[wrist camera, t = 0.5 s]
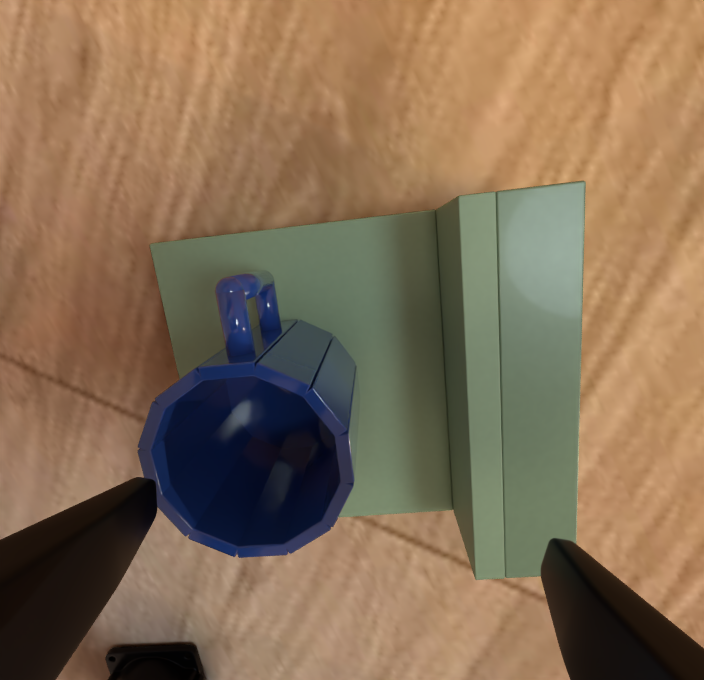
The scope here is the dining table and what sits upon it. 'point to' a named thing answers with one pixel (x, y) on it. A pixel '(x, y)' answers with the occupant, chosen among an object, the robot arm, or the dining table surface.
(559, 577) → the robot arm
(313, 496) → the mug
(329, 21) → the dining table surface
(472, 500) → the shelf
